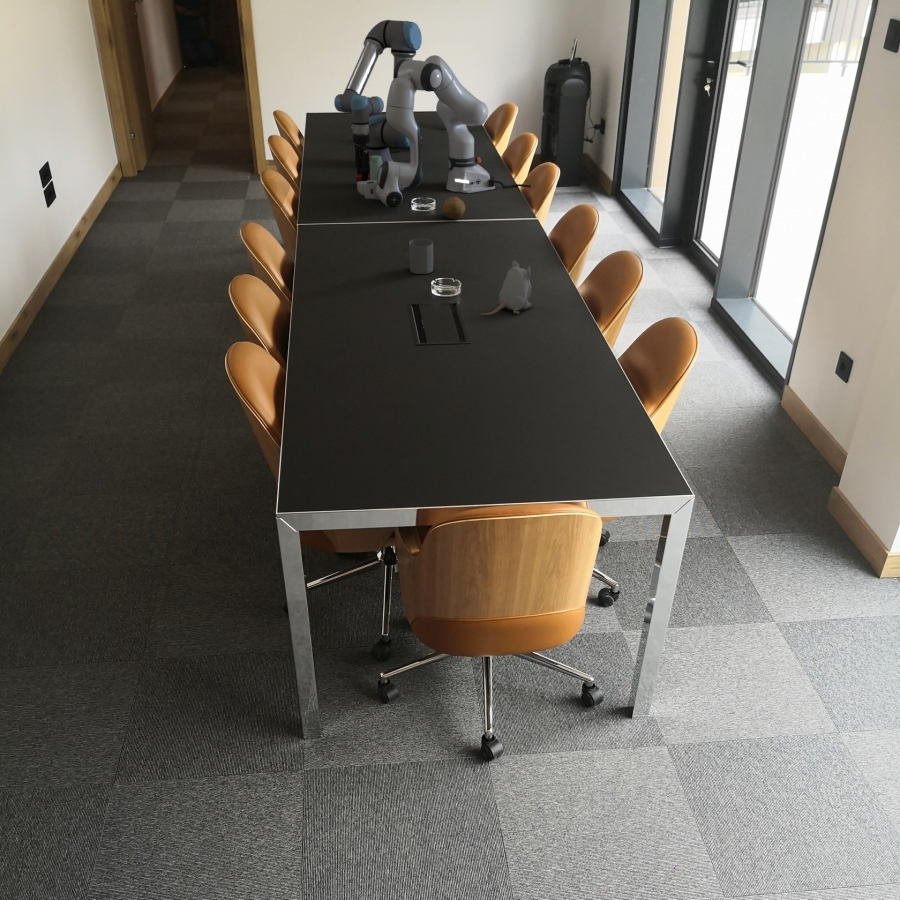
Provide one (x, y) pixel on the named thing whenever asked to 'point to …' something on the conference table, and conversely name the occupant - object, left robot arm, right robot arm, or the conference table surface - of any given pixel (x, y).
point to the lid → (360, 178)
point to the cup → (421, 256)
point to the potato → (453, 208)
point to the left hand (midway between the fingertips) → (363, 185)
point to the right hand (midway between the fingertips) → (376, 180)
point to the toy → (515, 290)
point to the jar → (374, 166)
